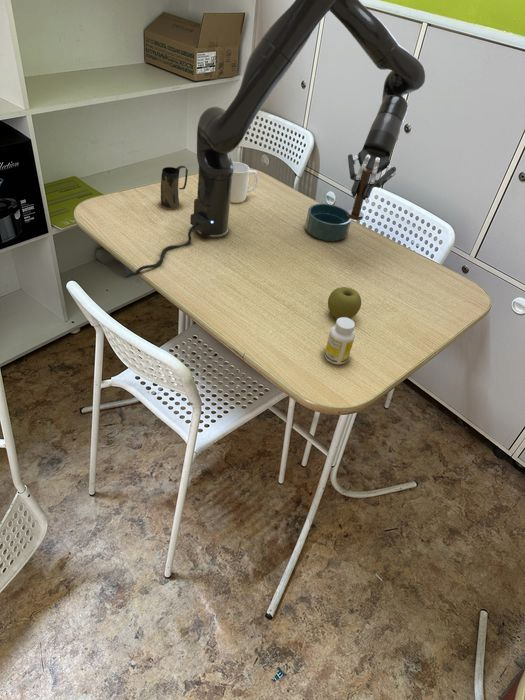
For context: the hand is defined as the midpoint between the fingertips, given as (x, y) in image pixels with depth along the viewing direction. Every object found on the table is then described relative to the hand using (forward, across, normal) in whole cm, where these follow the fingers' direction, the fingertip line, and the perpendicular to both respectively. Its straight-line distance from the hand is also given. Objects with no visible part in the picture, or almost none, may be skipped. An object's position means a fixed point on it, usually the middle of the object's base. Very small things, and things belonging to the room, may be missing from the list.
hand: (358, 196), depth 135 cm
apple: (+32, +7, -3) cm, 33 cm away
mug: (+14, -55, +15) cm, 59 cm away
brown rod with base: (+3, 0, +6) cm, 7 cm away
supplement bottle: (+42, +11, -14) cm, 46 cm away
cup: (+1, -41, +28) cm, 49 cm away
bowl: (+4, -9, +24) cm, 26 cm away
